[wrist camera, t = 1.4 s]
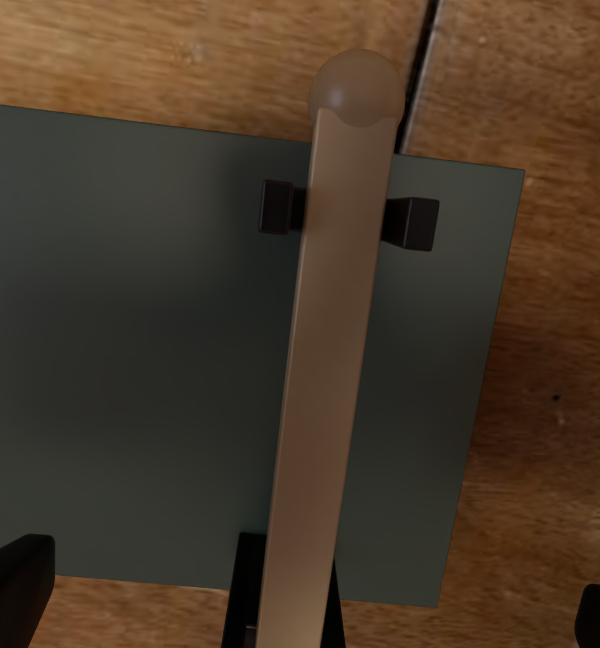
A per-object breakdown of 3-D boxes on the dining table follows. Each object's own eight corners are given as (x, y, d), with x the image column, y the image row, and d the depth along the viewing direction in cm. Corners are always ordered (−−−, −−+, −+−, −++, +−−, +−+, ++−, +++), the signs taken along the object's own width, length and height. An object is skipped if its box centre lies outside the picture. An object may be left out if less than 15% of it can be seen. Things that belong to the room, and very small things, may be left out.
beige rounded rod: (400, 69, 12) (423, 42, 10) (303, 731, 16) (306, 806, 14) (312, 58, 11) (316, 28, 10) (238, 726, 16) (230, 800, 14)
